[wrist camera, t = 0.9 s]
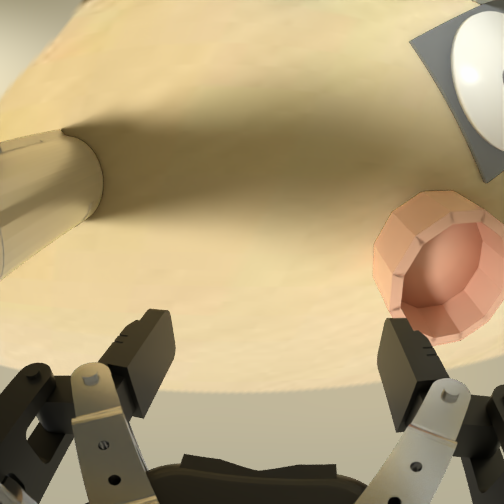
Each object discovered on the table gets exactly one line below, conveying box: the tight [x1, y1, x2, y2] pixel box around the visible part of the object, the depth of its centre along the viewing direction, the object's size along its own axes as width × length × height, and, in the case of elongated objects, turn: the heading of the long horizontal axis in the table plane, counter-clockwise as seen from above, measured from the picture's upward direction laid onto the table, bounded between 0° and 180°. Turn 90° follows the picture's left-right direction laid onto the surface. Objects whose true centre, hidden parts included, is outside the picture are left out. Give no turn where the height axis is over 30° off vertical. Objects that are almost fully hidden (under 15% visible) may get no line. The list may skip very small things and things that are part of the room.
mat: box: [409, 0, 504, 183], centre depth 20 cm, size 15×15×1 cm
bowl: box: [373, 190, 504, 346], centre depth 26 cm, size 13×13×6 cm
